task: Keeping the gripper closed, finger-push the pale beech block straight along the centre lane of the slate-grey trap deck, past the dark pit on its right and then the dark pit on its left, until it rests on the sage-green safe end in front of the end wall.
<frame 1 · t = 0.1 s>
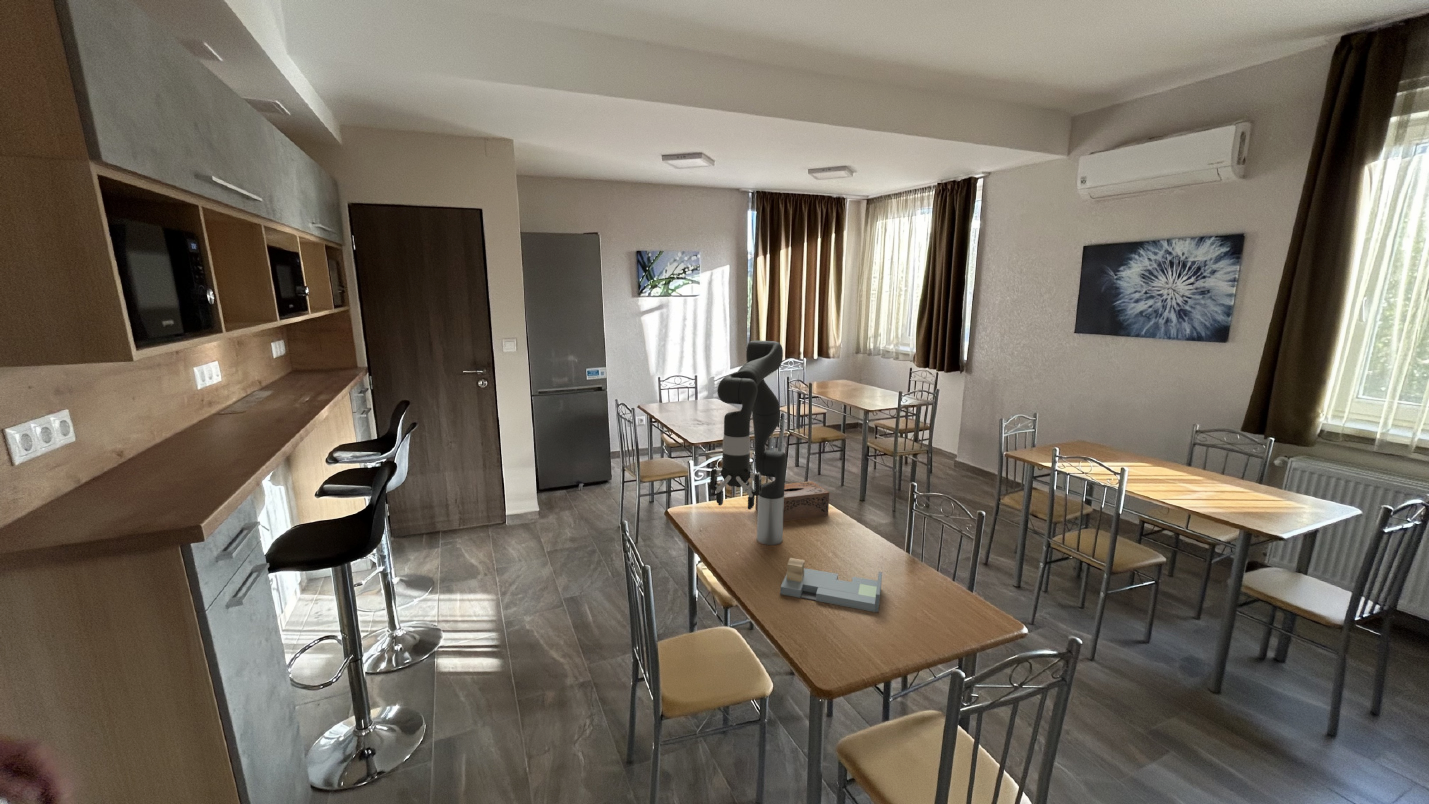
hand: (735, 506, 157), 29 cm above the table, fingers open, 8 cm apart
tissue box cover: (791, 513, 230), on the table
beech block: (795, 577, 172), point 2 cm above the table, touching trap deck
trap deck: (831, 591, 169), on the table
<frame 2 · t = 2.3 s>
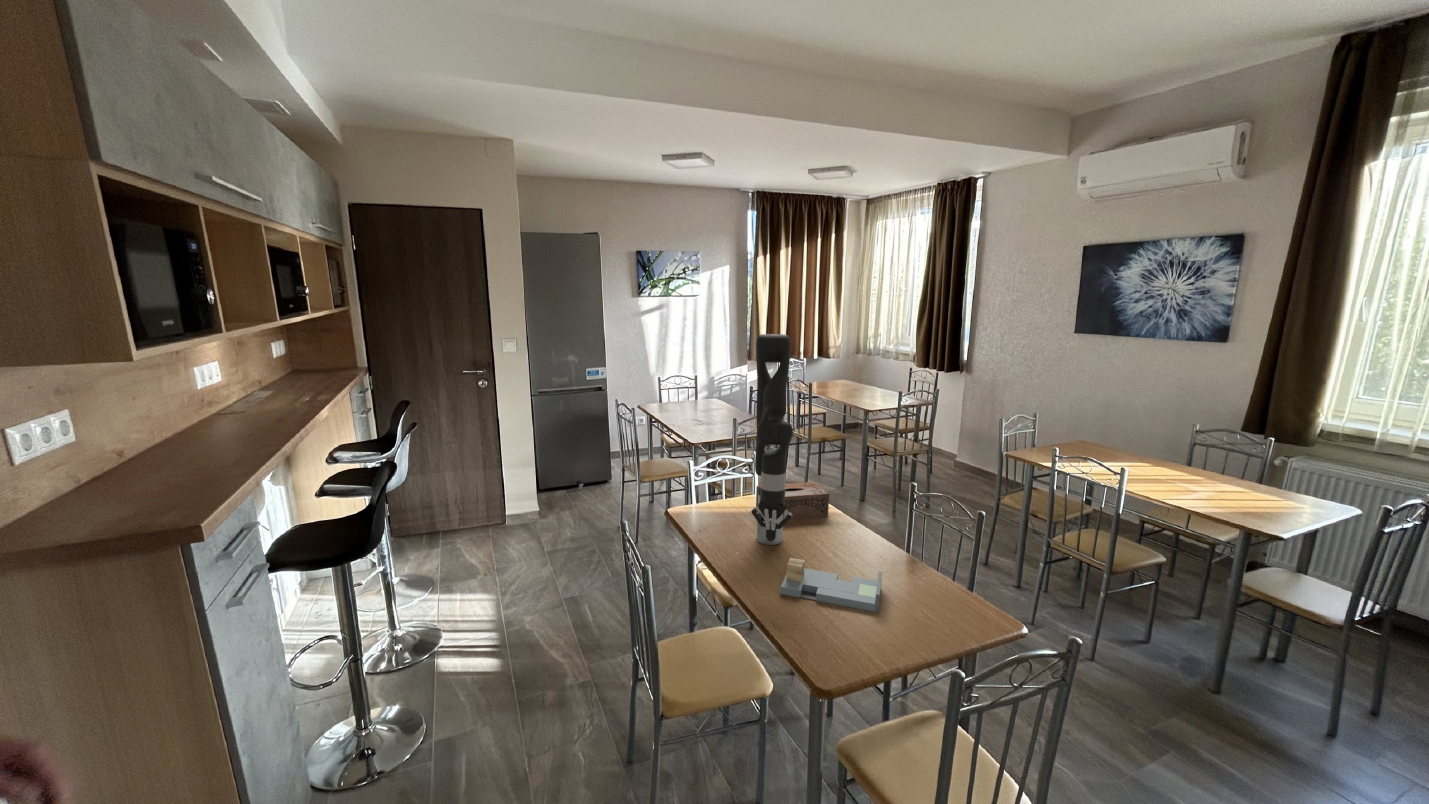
hand: (770, 540, 173), 13 cm above the table, fingers closed
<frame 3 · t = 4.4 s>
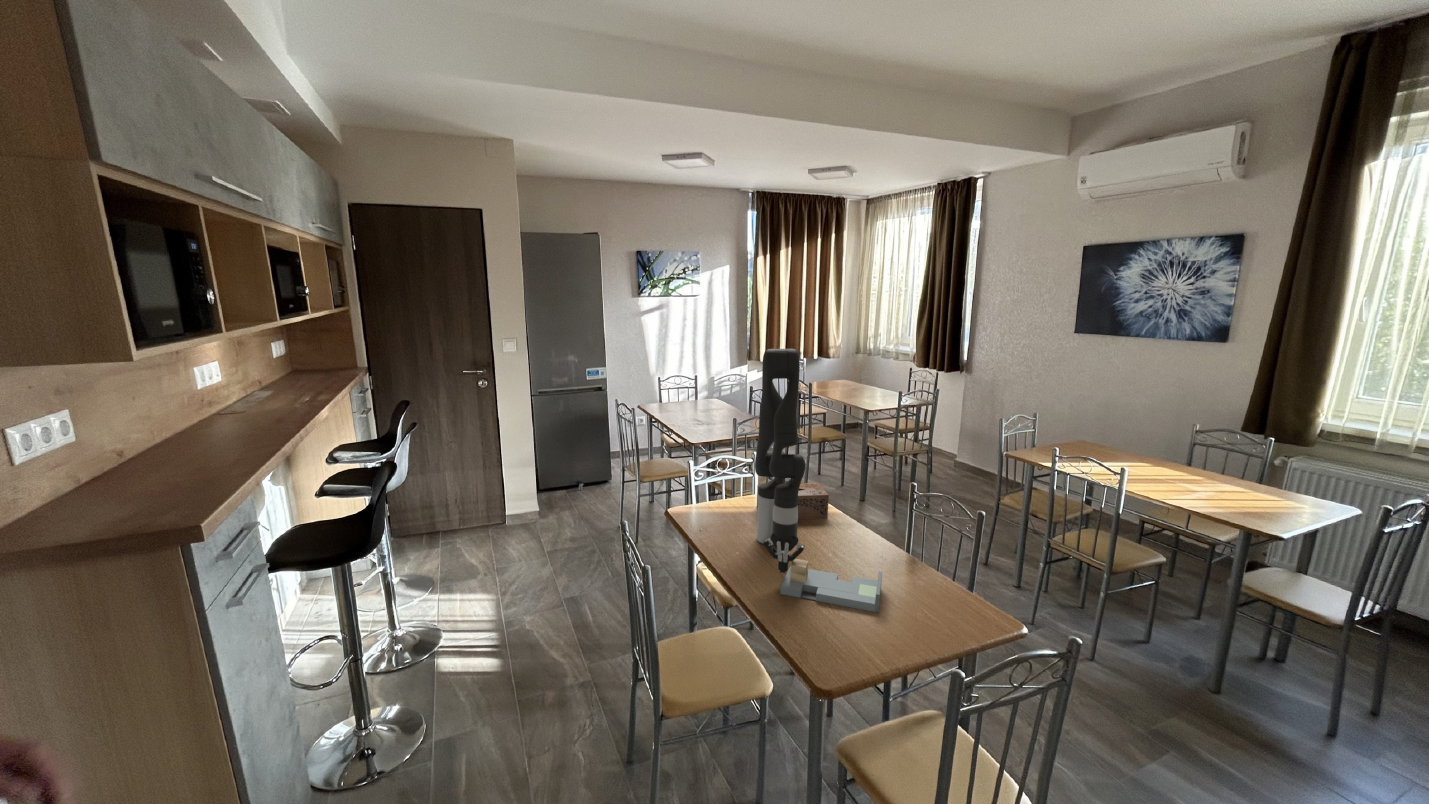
hand: (783, 571, 173), 4 cm above the table, fingers closed
beech block: (799, 578, 172), point 2 cm above the table
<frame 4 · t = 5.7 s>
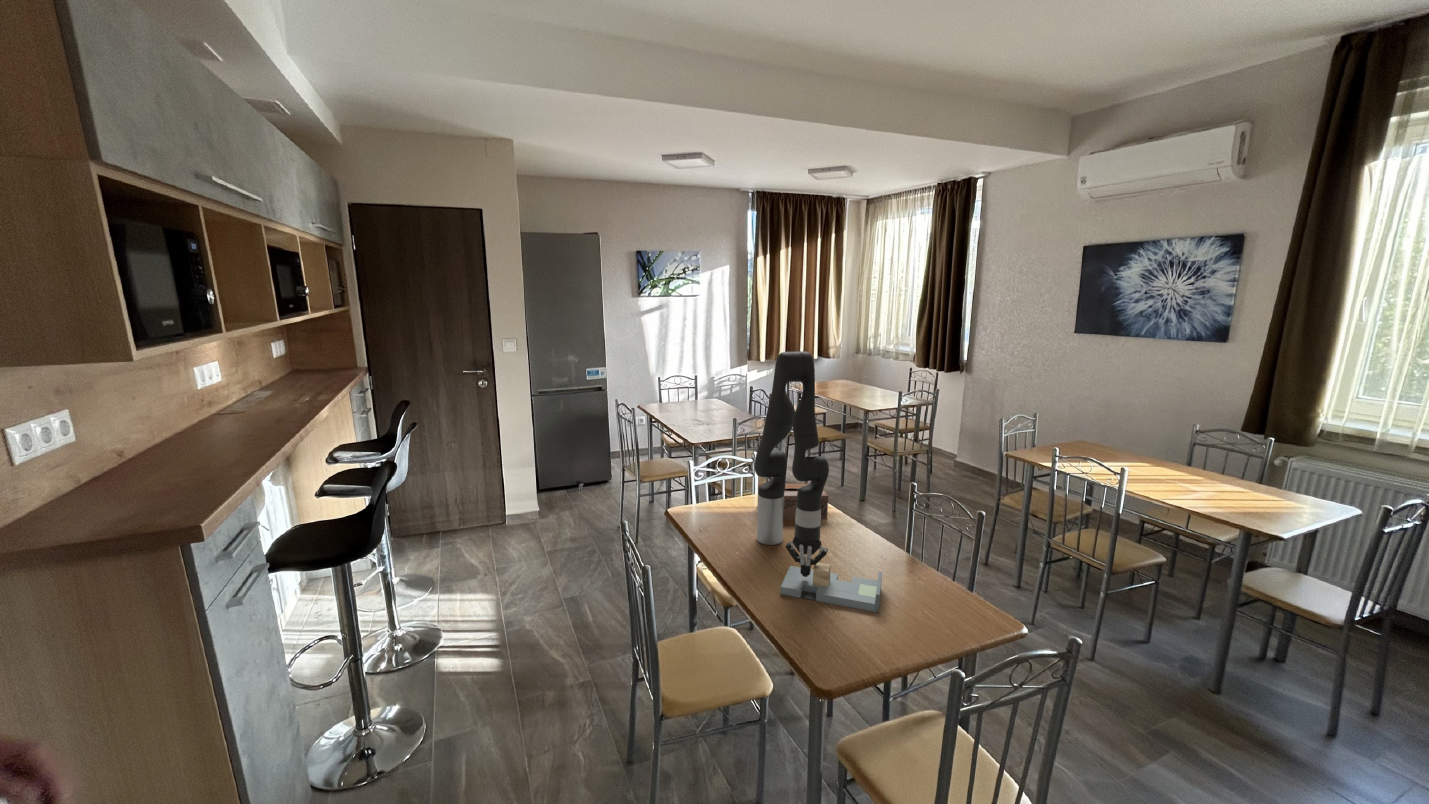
hand: (805, 575, 171), 4 cm above the table, fingers closed
beech block: (821, 582, 170), point 2 cm above the table, touching gripper, trap deck
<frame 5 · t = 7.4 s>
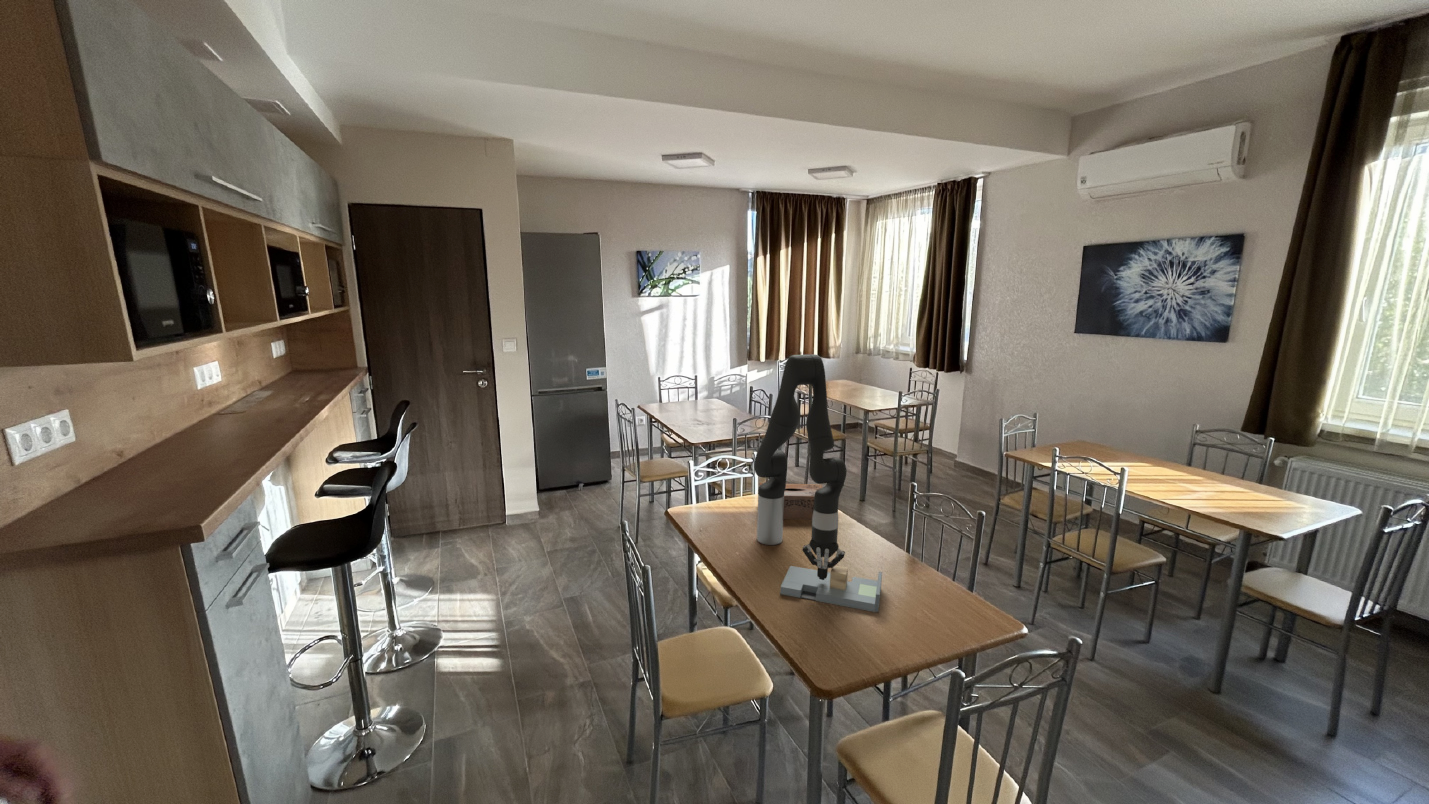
hand: (822, 578, 169), 4 cm above the table, fingers closed
beech block: (838, 585, 168), point 2 cm above the table, touching gripper
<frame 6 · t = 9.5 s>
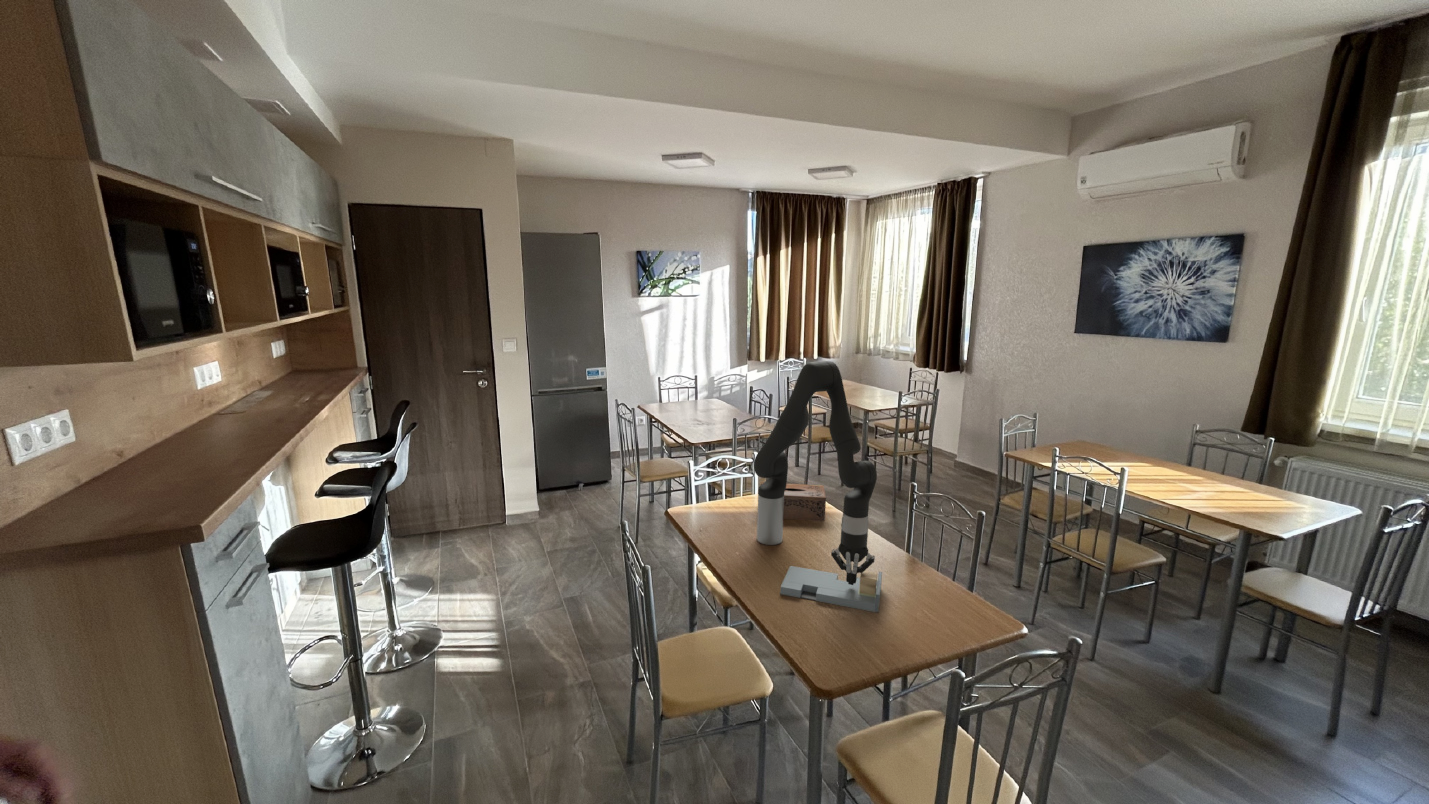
hand: (851, 583, 167), 4 cm above the table, fingers closed
beech block: (867, 590, 165), point 2 cm above the table, touching gripper, trap deck
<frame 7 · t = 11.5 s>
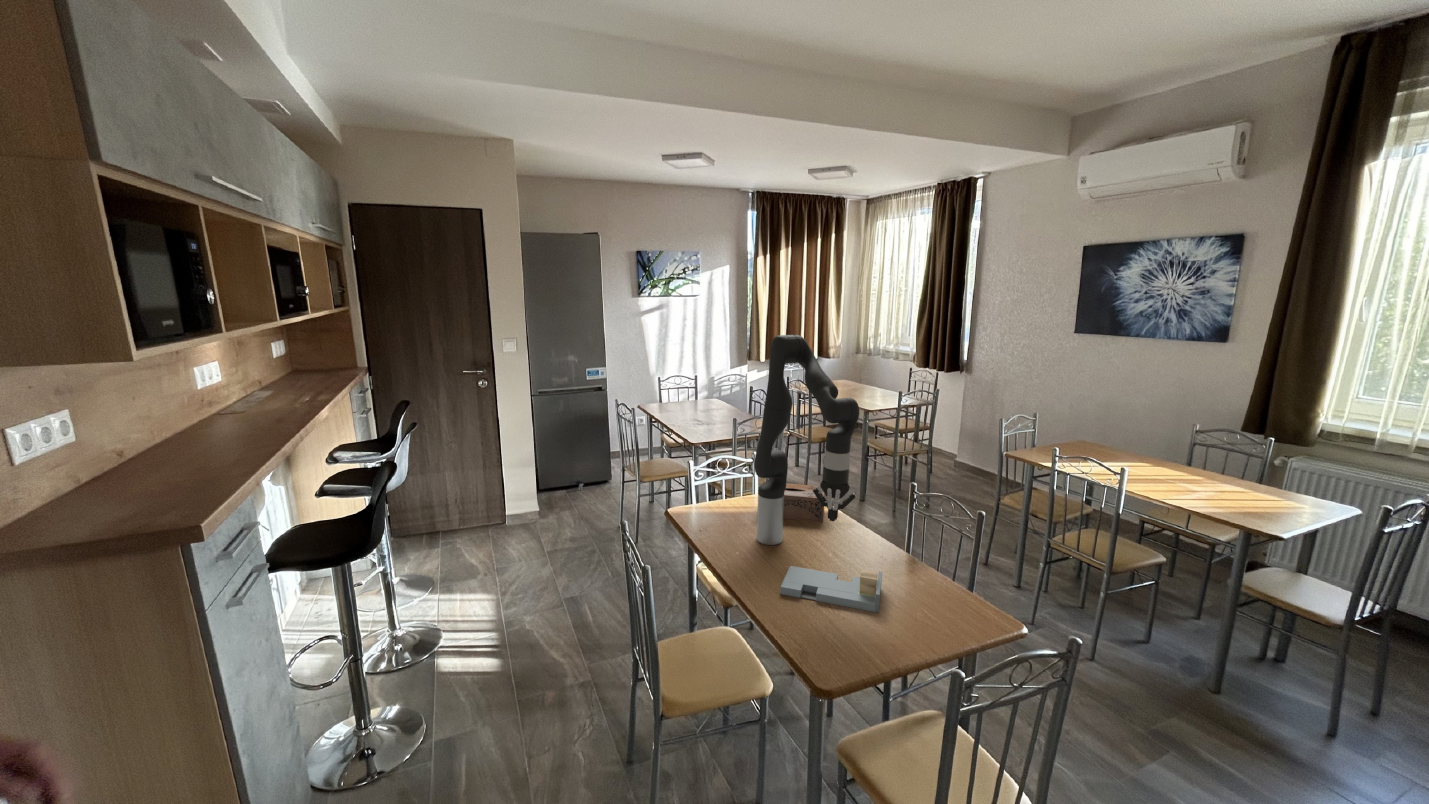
hand: (832, 520, 169), 21 cm above the table, fingers closed
beech block: (867, 590, 165), point 2 cm above the table, touching trap deck
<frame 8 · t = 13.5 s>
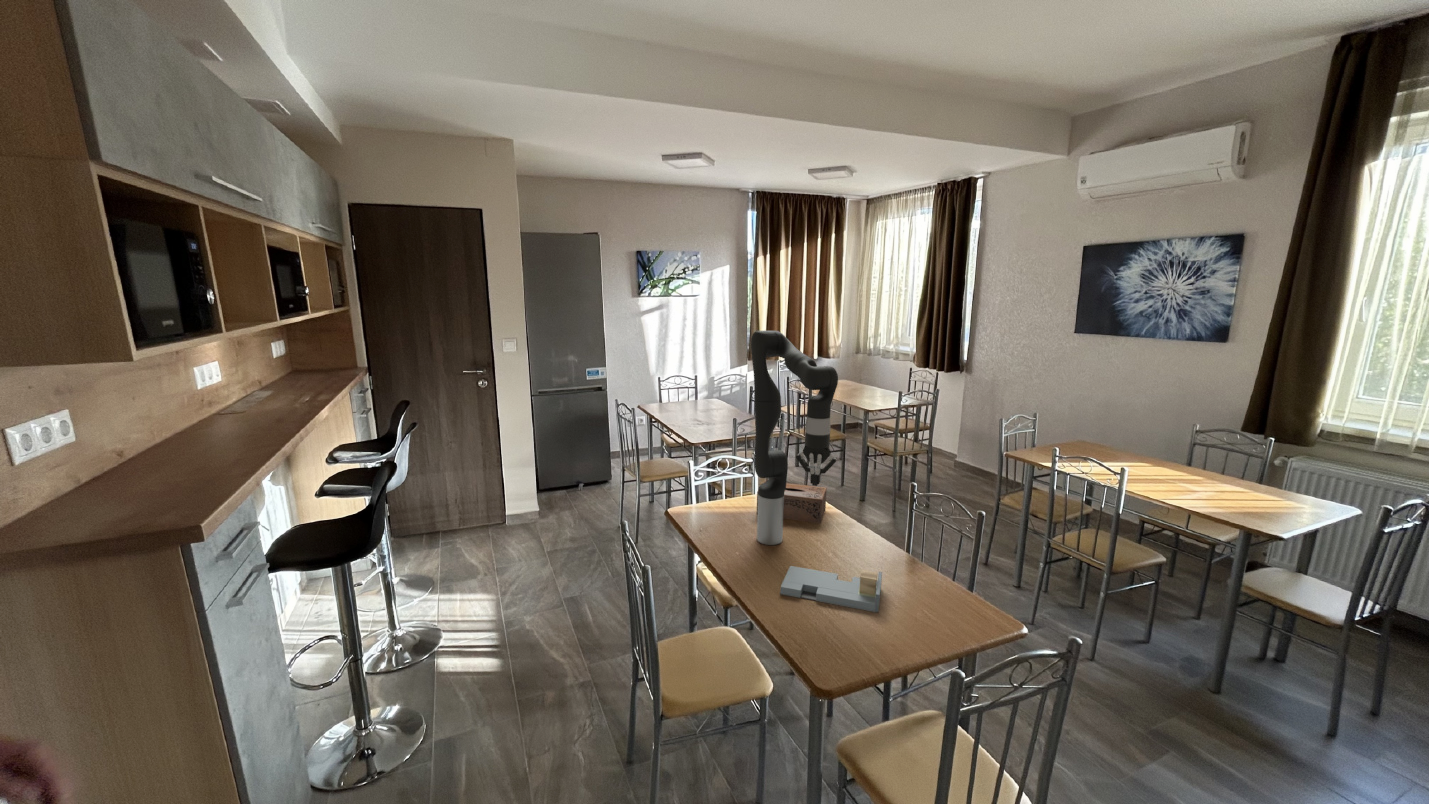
hand: (815, 485, 176), 29 cm above the table, fingers closed
at the end: beech block 0.6 cm from the target spot on the trap deck, point 2.3 cm above the trap deck's base; beech block tilted 0° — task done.
